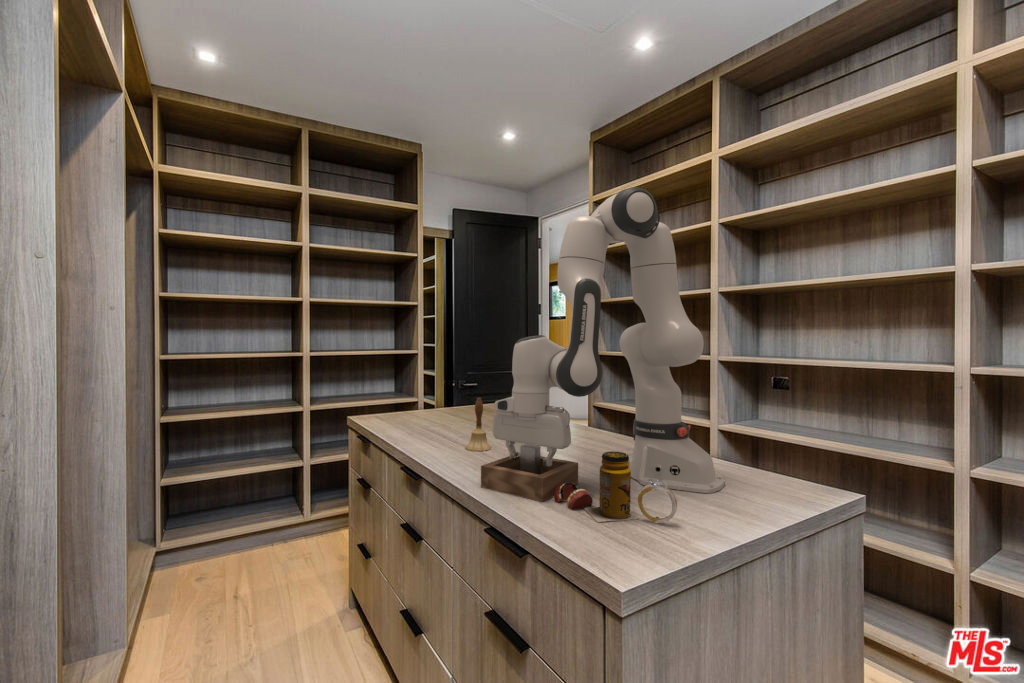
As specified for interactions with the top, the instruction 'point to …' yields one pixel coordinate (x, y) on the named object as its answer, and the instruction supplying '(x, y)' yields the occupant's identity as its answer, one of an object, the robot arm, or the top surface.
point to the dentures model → (572, 496)
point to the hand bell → (478, 432)
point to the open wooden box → (528, 478)
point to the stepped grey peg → (530, 458)
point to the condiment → (614, 489)
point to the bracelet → (657, 486)
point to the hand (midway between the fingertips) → (530, 462)
